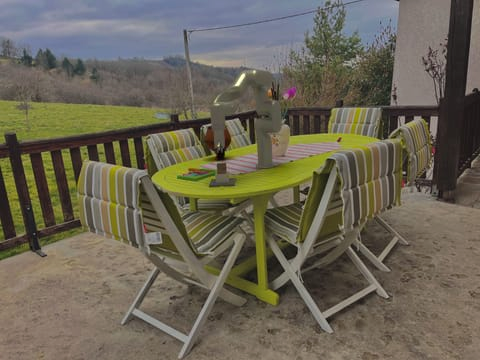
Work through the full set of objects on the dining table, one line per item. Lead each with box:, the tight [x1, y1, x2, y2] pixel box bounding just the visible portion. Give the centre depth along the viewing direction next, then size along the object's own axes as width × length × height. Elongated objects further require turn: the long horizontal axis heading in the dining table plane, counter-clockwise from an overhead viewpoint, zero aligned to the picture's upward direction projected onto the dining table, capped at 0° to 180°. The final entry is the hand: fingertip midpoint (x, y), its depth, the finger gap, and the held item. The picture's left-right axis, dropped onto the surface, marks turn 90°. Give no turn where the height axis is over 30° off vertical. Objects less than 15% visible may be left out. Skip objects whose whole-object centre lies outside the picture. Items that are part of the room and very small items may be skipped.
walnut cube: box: [216, 162, 228, 174], centre depth 205 cm, size 5×5×5 cm
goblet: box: [204, 125, 232, 162], centre depth 272 cm, size 19×19×25 cm
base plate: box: [208, 177, 237, 188], centre depth 206 cm, size 14×14×1 cm
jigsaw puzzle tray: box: [176, 167, 217, 182], centre depth 231 cm, size 23×2×25 cm
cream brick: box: [214, 171, 230, 183], centre depth 206 cm, size 5×7×5 cm
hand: (221, 158), depth 204 cm, fingers open, 9 cm apart
